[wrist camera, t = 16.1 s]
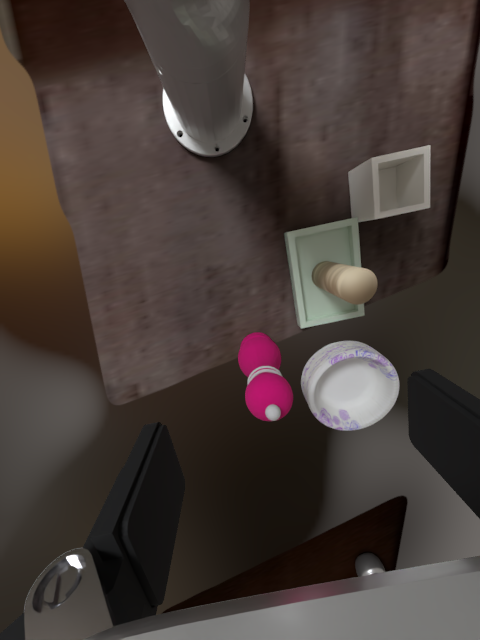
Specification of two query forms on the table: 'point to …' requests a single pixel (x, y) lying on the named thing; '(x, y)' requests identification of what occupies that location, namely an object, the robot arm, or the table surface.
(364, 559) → the plastic bottle
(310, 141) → the table surface
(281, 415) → the pepper mill
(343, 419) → the paper bowls
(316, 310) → the tray
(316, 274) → the beige ringed cylinder
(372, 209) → the box
